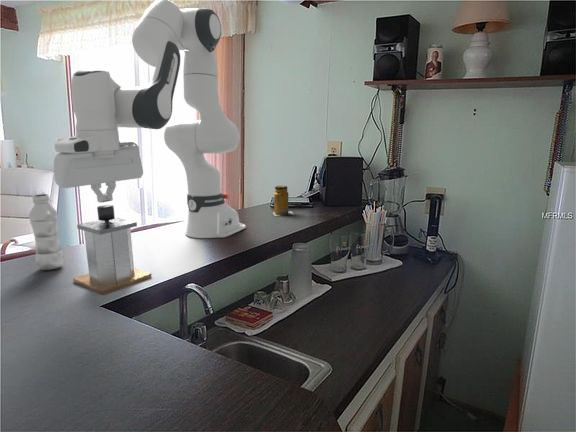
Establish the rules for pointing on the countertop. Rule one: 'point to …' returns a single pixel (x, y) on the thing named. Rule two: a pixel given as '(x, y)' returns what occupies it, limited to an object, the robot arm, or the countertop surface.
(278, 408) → the countertop surface
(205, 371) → the countertop surface
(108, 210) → the plunger
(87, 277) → the white box on plank
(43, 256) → the plastic bottle
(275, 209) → the condiment
